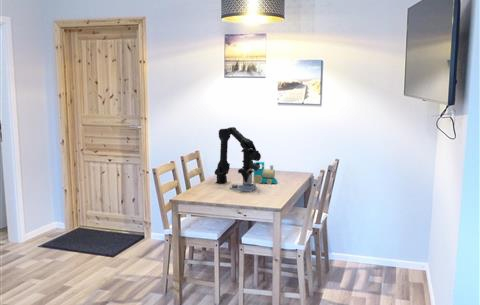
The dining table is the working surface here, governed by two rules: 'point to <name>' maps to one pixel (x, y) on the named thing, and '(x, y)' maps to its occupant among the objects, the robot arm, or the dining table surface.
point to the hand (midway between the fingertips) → (247, 181)
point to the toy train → (264, 175)
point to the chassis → (244, 187)
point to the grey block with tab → (248, 179)
